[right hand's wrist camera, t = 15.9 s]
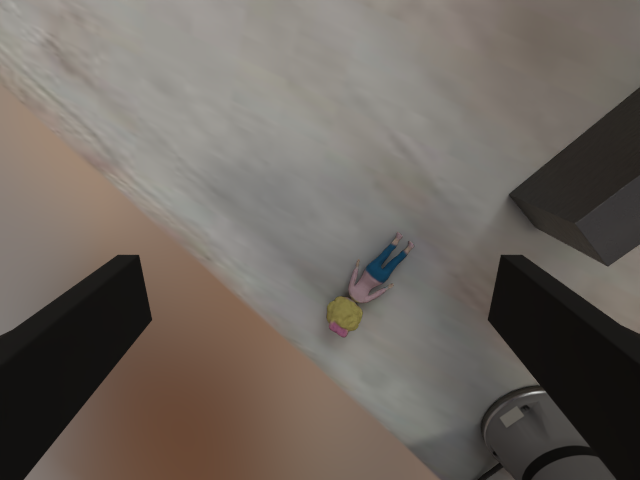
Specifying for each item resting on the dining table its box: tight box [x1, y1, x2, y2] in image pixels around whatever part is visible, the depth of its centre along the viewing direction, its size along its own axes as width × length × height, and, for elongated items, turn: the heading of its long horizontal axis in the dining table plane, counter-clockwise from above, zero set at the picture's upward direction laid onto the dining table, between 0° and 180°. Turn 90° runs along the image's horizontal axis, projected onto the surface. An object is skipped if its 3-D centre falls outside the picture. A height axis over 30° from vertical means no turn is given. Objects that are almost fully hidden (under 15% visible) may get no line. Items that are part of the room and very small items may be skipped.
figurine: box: [327, 232, 414, 337], centre depth 44 cm, size 6×4×15 cm
